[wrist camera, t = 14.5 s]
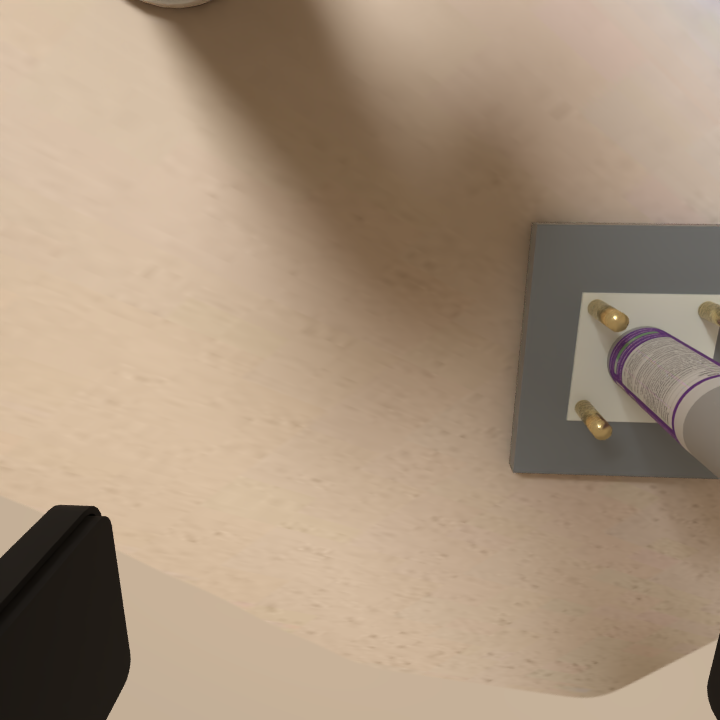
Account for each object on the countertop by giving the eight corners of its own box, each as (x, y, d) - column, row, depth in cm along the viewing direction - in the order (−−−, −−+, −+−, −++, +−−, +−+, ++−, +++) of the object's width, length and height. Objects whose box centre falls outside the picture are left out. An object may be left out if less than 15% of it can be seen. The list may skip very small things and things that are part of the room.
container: (686, 373, 40) (848, 485, 26) (620, 401, 41) (741, 524, 27) (664, 313, 39) (821, 396, 24) (596, 343, 40) (710, 440, 25)
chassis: (532, 222, 39) (538, 224, 37) (778, 225, 38) (795, 227, 37) (509, 463, 45) (513, 473, 43) (723, 469, 44) (736, 480, 42)
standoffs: (588, 299, 39) (610, 312, 35) (718, 301, 38) (754, 315, 34) (573, 415, 41) (591, 440, 37) (694, 418, 41) (725, 443, 37)
